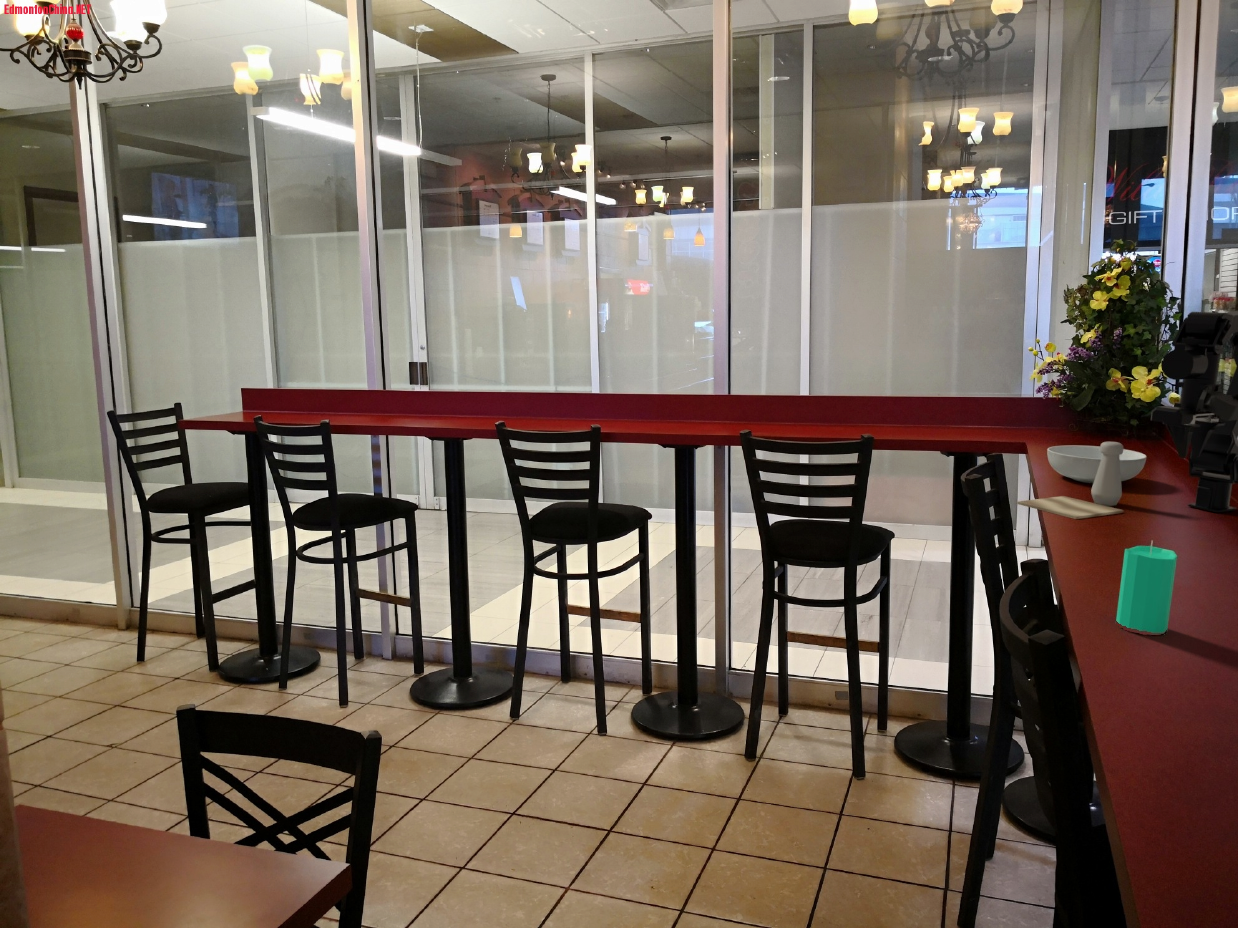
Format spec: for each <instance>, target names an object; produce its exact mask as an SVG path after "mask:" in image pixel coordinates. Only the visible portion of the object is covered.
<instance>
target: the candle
mask: <svg viewBox="0 0 1238 928" xmlns="http://www.w3.org/2000/svg"><path fill="white" fill-rule="evenodd" d="M1153 541H1154V540H1152V539H1151V543H1150V545H1148V546H1147V545H1136V546H1134V547H1130V548H1125V549H1124V555H1123V561H1122V562H1123V563H1122V570H1121V579H1120V586H1119V587H1120V588H1119V594H1118V595H1119V596H1118V603H1117V609H1116V610H1117V611H1116V619H1115V620H1116V621H1117V622H1118V623H1119V624H1121V625H1122V626H1126V627H1127V628H1131V629H1137V630H1139V631H1147V632H1151V633H1164V632H1165V631H1166V630H1167V631H1168V627H1169V620H1170V611H1171V603H1172V599H1173V598H1172V597H1173V591H1174V583H1175V582H1174V581H1175V574H1176V567H1177V559H1178V555H1177V554H1176V552H1175V551H1174V550H1170V549H1165V548H1161V547H1157V546H1153V543H1154V542H1153ZM1116 621H1115V622H1116Z"/></svg>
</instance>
